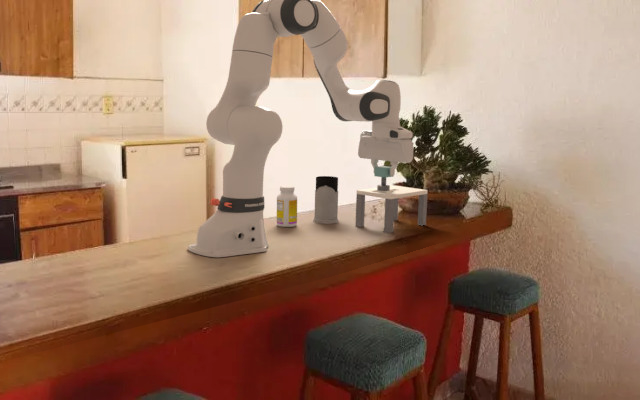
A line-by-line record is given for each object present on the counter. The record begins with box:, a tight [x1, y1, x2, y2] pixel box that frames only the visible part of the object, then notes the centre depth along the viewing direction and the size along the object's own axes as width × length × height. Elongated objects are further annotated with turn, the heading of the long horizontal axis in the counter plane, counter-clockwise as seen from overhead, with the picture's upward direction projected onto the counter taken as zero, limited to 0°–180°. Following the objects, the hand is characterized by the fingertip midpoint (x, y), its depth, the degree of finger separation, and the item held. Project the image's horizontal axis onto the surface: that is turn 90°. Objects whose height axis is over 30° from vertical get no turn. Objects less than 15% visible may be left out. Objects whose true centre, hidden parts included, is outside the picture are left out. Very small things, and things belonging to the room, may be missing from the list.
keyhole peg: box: [373, 165, 395, 191], centre depth 214 cm, size 4×4×8 cm
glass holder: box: [312, 175, 339, 225], centre depth 227 cm, size 9×14×15 cm, turn 173°
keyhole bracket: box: [354, 184, 428, 234], centre depth 220 cm, size 20×14×12 cm
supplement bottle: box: [276, 185, 298, 228], centre depth 215 cm, size 7×7×13 cm
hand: (383, 174), depth 214 cm, fingers closed on keyhole peg, 4 cm apart
